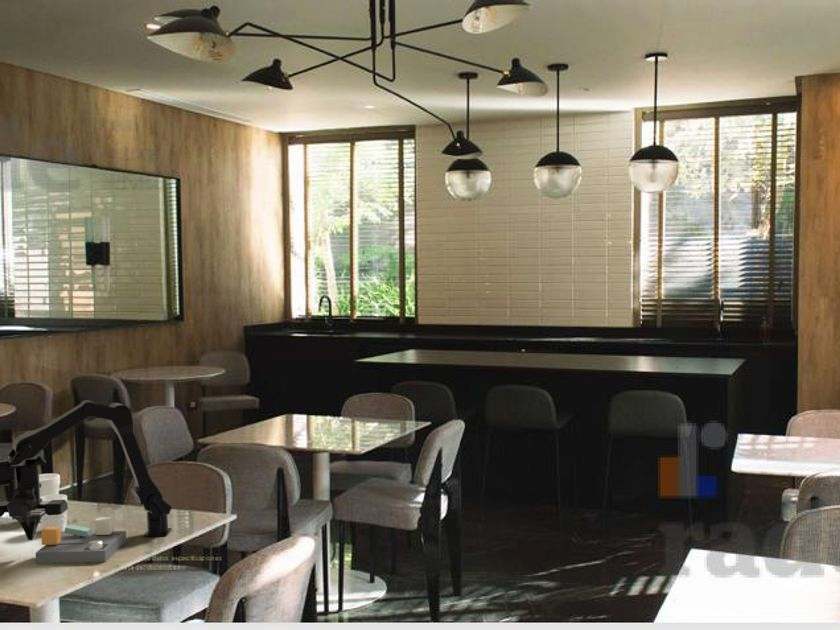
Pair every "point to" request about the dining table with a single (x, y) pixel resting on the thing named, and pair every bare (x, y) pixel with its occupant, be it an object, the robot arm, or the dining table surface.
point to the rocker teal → (77, 530)
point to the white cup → (54, 519)
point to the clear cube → (96, 545)
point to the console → (80, 548)
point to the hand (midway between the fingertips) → (30, 539)
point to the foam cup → (49, 484)
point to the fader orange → (51, 535)
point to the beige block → (104, 526)
